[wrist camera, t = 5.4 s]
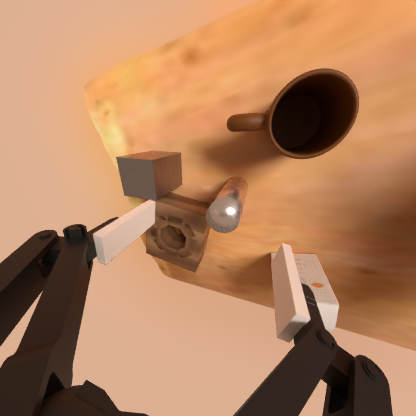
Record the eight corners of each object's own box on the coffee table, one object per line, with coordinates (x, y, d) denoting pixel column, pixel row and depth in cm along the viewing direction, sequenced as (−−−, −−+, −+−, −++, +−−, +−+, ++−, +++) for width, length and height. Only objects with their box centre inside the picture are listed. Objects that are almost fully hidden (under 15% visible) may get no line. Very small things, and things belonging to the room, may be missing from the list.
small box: (271, 272, 35) (274, 322, 26) (270, 251, 33) (273, 297, 24) (315, 276, 32) (335, 333, 23) (316, 253, 30) (340, 306, 21)
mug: (234, 151, 27) (222, 160, 19) (236, 97, 24) (222, 78, 16) (317, 151, 24) (345, 161, 15) (331, 87, 20) (377, 58, 12)
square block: (152, 150, 31) (116, 156, 24) (180, 152, 30) (151, 159, 22) (156, 181, 34) (124, 195, 26) (182, 184, 32) (156, 200, 25)
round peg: (228, 174, 29) (209, 198, 18) (250, 180, 28) (243, 208, 18) (223, 194, 31) (203, 226, 20) (243, 200, 30) (234, 237, 20)
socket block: (161, 189, 34) (147, 197, 30) (215, 206, 32) (207, 218, 28) (158, 240, 41) (146, 253, 37) (202, 257, 39) (195, 272, 34)
